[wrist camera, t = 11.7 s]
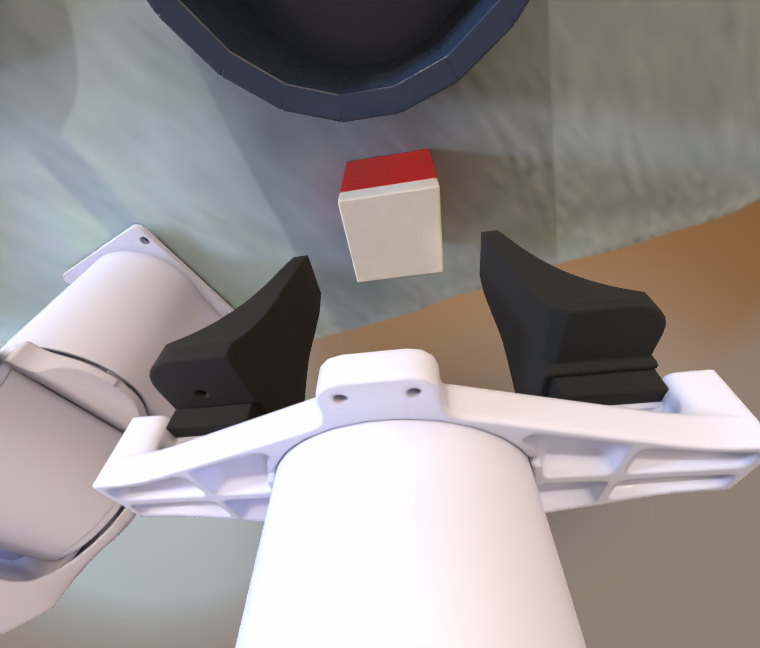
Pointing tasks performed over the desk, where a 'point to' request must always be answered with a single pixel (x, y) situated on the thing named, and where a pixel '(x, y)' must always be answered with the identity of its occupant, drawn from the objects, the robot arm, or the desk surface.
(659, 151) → the desk surface
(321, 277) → the desk surface
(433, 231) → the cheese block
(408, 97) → the pot
